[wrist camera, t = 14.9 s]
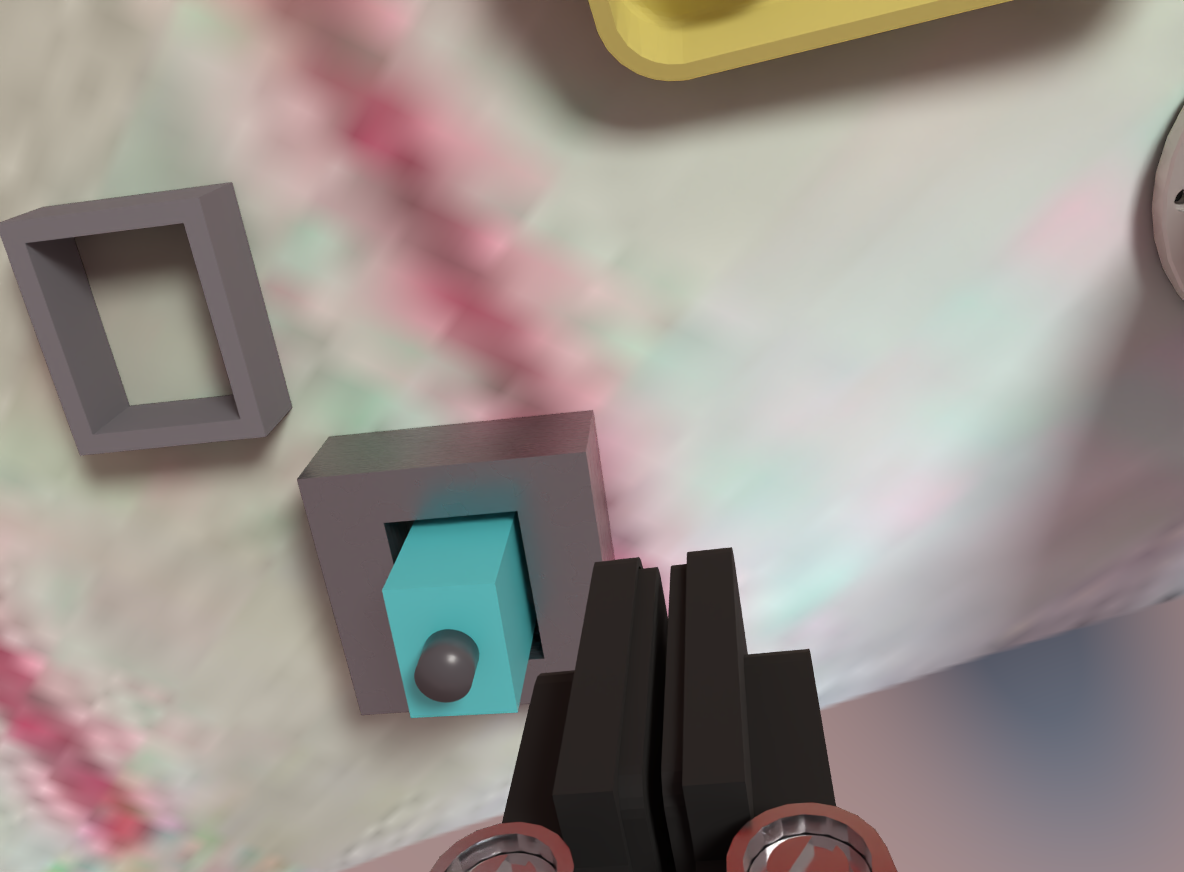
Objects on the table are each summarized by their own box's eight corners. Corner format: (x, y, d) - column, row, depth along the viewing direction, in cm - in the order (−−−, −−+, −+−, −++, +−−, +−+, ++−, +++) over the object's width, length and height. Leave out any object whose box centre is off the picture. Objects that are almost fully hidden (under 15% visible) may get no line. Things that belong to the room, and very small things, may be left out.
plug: (524, 480, 43) (488, 607, 34) (541, 593, 45) (512, 740, 36) (430, 487, 43) (370, 614, 34) (451, 599, 45) (401, 745, 36)
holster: (232, 182, 38) (198, 197, 36) (292, 407, 42) (266, 436, 39) (42, 207, 39) (-4, 223, 36) (117, 425, 43) (79, 455, 40)
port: (593, 410, 41) (585, 451, 37) (626, 639, 45) (622, 697, 42) (328, 436, 42) (296, 479, 39) (385, 657, 47) (361, 715, 43)
